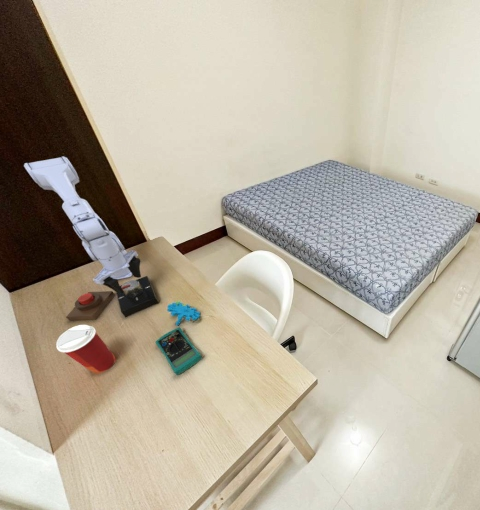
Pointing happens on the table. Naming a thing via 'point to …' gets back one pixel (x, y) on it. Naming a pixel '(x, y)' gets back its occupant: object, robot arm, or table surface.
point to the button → (86, 298)
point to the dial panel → (138, 299)
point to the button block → (91, 307)
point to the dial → (132, 288)
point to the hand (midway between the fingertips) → (129, 284)
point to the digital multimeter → (178, 350)
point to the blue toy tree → (183, 311)
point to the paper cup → (86, 348)
